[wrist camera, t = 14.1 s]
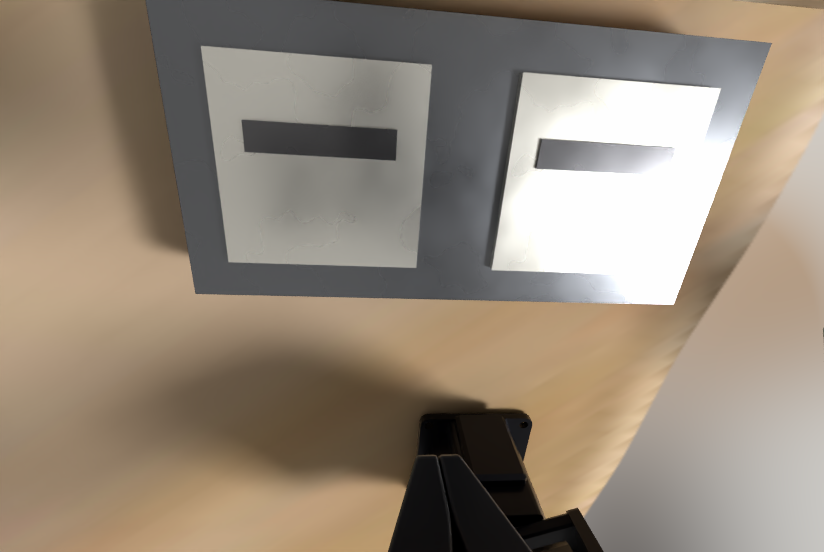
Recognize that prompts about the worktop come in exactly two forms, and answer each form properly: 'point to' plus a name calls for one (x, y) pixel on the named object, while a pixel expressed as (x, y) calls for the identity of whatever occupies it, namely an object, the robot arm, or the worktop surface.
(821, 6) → the notched beige block
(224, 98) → the slab
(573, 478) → the worktop surface
